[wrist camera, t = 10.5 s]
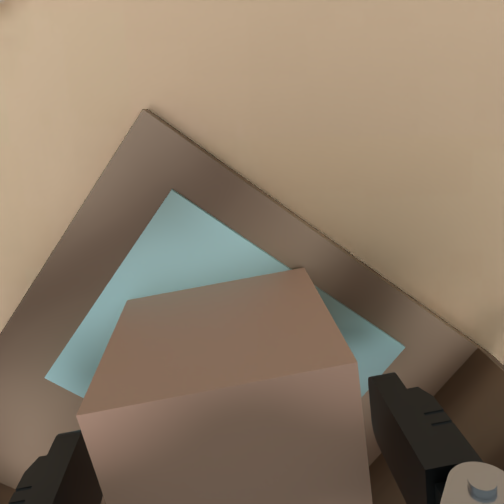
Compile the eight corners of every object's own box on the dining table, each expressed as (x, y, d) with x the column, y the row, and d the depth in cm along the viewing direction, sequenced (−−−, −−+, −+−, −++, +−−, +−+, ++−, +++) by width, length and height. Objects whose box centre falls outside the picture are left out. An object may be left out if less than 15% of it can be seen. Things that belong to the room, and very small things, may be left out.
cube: (304, 267, 15) (357, 361, 10) (324, 414, 17) (379, 567, 12) (127, 300, 15) (75, 415, 10) (167, 445, 17) (144, 614, 11)
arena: (490, 353, 18) (613, 463, 13) (256, 604, 22) (272, 783, 16) (147, 109, 15) (105, 111, 9) (-75, 458, 18) (-210, 624, 12)
